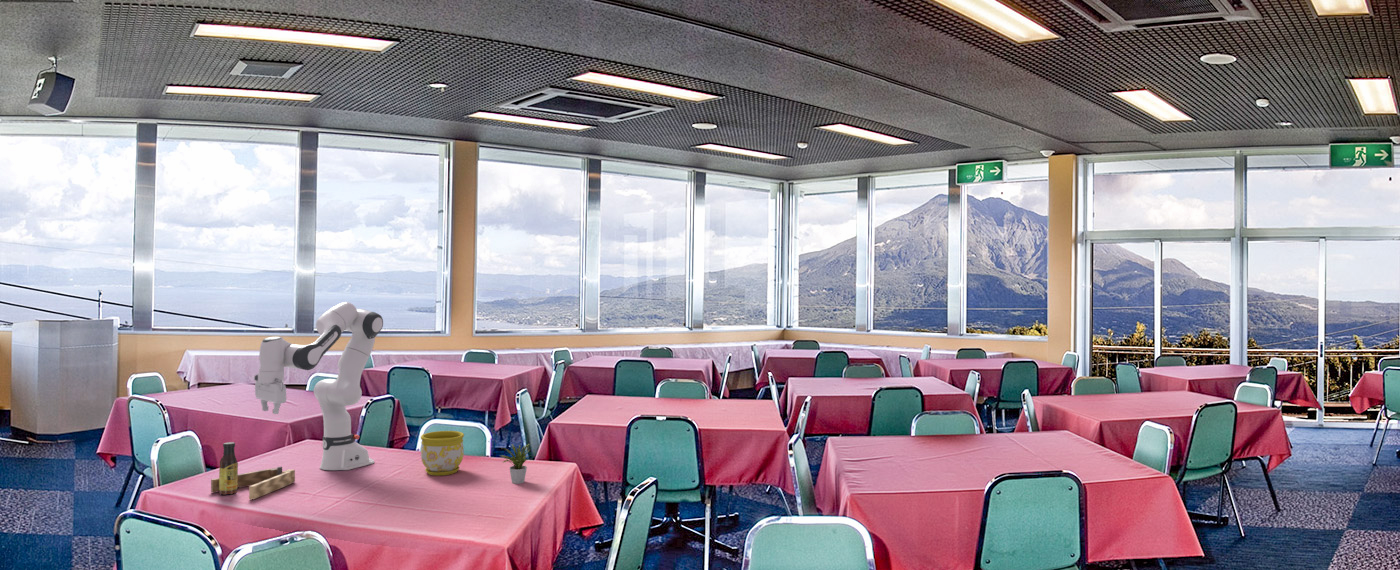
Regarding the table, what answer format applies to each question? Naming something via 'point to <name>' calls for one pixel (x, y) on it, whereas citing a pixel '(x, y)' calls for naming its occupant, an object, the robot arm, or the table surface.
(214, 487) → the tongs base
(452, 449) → the flowerpot
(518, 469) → the house plant
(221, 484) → the sauce bottle
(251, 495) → the oak jaw
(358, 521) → the table surface
